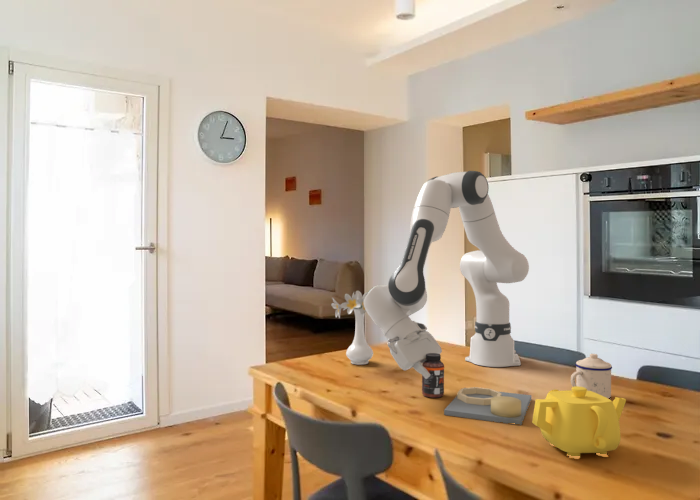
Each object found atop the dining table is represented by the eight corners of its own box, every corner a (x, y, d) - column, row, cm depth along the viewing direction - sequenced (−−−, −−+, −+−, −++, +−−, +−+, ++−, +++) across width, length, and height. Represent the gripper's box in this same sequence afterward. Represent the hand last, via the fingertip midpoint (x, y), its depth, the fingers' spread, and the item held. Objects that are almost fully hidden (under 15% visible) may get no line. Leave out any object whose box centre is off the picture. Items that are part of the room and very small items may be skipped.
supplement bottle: (443, 399, 145) (443, 357, 145) (421, 397, 146) (421, 356, 146) (444, 393, 151) (444, 352, 150) (422, 391, 152) (422, 351, 152)
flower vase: (326, 362, 188) (326, 290, 187) (370, 357, 197) (371, 288, 197) (344, 370, 177) (344, 294, 176) (391, 364, 186) (391, 291, 186)
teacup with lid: (593, 390, 153) (594, 349, 153) (619, 399, 144) (620, 356, 144) (559, 395, 149) (559, 352, 149) (584, 404, 140) (584, 359, 140)
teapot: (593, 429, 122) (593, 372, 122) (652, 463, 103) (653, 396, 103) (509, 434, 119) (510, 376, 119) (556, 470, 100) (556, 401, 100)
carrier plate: (464, 391, 152) (464, 376, 152) (531, 399, 144) (531, 384, 144) (444, 414, 132) (444, 397, 132) (521, 425, 124) (521, 407, 124)
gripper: (392, 333, 143) (425, 375, 138) (426, 323, 160) (457, 360, 155) (377, 348, 146) (409, 389, 141) (413, 336, 163) (443, 373, 157)
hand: (435, 374), depth 148 cm, fingers closed on supplement bottle, 6 cm apart
